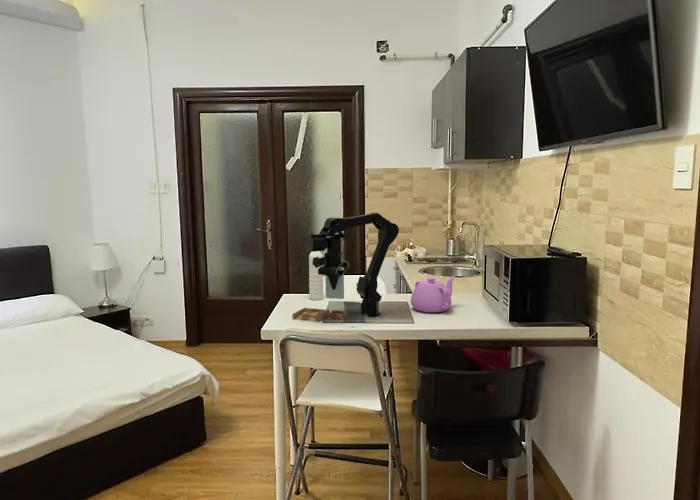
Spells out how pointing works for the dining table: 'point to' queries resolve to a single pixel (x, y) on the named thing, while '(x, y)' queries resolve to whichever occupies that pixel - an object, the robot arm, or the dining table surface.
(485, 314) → the dining table surface
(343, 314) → the holder
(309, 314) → the offcut top
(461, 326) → the dining table surface
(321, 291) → the water bottle
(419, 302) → the teapot
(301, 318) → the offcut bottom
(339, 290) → the grey rectangular slab
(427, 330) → the dining table surface
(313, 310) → the tray
